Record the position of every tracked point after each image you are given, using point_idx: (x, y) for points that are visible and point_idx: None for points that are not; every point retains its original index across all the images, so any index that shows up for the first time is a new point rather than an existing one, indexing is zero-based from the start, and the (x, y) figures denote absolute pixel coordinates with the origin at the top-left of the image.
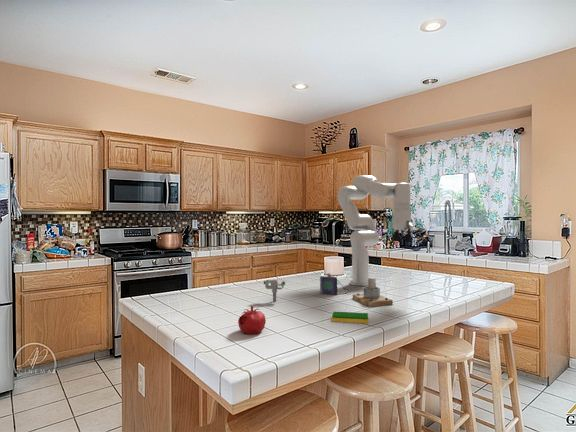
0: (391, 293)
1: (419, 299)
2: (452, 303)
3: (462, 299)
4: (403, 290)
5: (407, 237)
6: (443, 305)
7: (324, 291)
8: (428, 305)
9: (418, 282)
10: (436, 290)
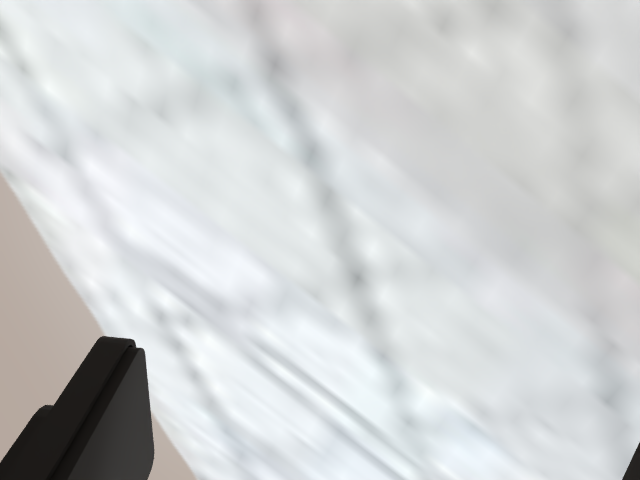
0: (465, 50)
1: (214, 126)
2: (69, 244)
3: None
4: (500, 208)
5: (2, 465)
6: (31, 160)
7: None
8: (45, 66)
9: None
10: (390, 390)
